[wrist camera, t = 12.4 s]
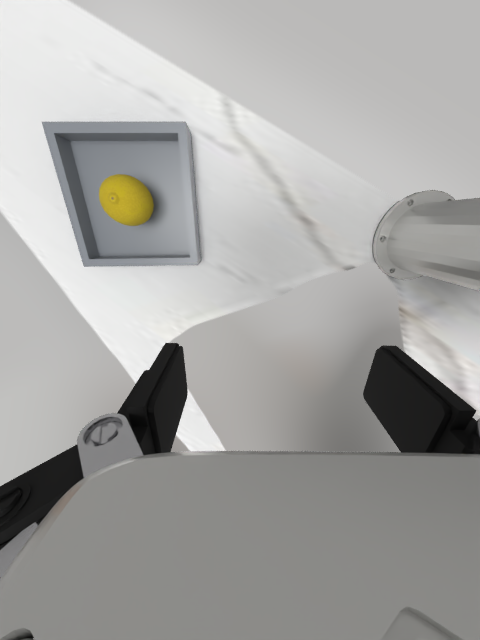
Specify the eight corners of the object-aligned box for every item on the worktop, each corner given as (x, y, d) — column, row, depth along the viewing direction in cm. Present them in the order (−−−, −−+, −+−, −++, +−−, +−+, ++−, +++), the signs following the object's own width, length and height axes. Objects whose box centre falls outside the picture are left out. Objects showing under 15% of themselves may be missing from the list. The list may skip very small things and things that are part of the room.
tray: (190, 132, 28) (185, 121, 25) (201, 260, 35) (197, 264, 32) (63, 133, 28) (41, 121, 25) (97, 262, 35) (83, 266, 31)
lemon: (134, 231, 32) (105, 234, 25) (111, 190, 30) (73, 180, 23) (168, 216, 32) (148, 214, 24) (148, 173, 29) (120, 157, 22)
